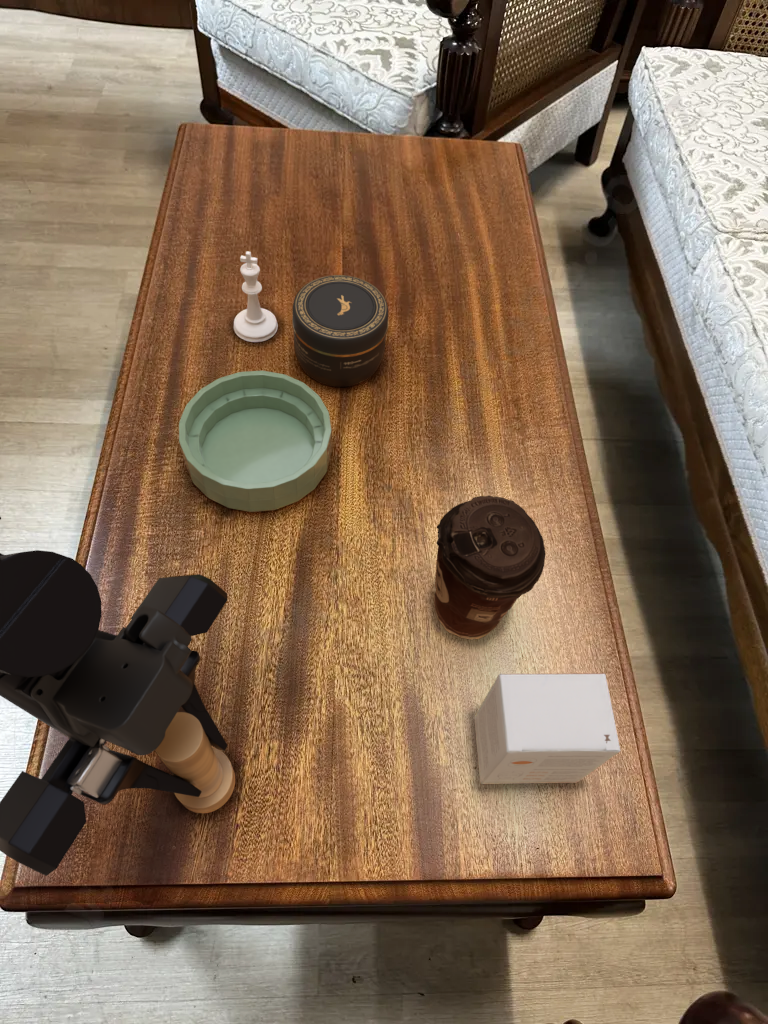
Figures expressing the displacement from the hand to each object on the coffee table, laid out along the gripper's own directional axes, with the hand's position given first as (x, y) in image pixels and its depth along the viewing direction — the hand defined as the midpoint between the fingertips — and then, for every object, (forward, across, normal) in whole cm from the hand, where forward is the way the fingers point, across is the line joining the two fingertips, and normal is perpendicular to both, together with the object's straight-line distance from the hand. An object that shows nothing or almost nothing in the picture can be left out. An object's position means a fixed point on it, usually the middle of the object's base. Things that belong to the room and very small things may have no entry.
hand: (210, 770), depth 49 cm
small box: (+20, +13, -9) cm, 25 cm away
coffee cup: (+13, +23, -3) cm, 27 cm away
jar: (-3, +45, +14) cm, 47 cm away
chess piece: (-11, +45, +21) cm, 51 cm away
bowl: (-4, +29, +15) cm, 33 cm away
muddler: (+4, 0, +6) cm, 7 cm away
